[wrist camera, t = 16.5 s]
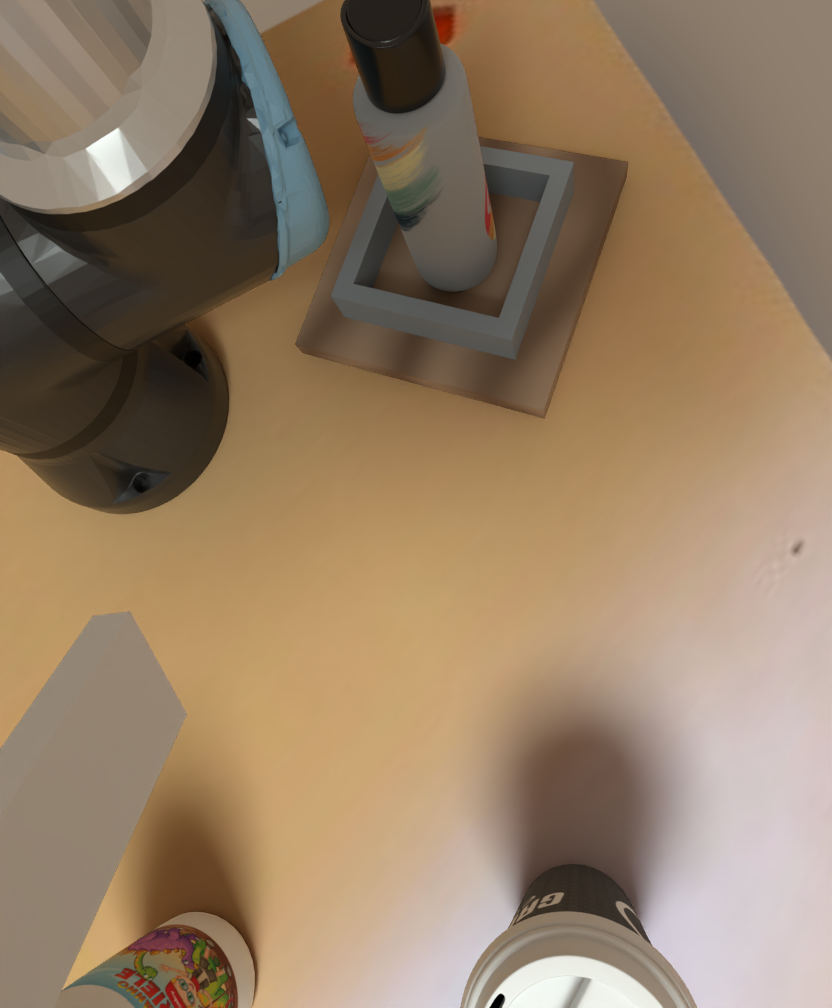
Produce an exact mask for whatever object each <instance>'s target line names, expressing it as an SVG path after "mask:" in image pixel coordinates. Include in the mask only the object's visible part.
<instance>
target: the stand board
mask: <svg viewBox="0 0 832 1008" xmlns="http://www.w3.org/2000/svg"><path fill="white" fill-rule="evenodd" d="M478 139H479V144H480V146H483V147H489V148H495V149H501V150H507V151H513V152H519V153H524V154H530V155H536V156H542V157H548V158H554V159H560V160H566V161H572V162H574V193H573V196H572V199H571V202H570V205H569V208H568V210H567V213H566V216H565V219H564V222H563V225H562V228H561V230H560V233H559V236H558V239H557V242H556V245H555V248H554V251H553V253H552V256H551V259H550V262H549V265H548V268H547V271H546V273H545V276H544V279H543V282H542V285H541V288H540V291H539V294H538V296H537V299H536V302H535V305H534V308H533V311H532V314H531V316H530V319H529V322H528V325H527V328H526V331H525V334H524V337H523V339H522V342H521V345H520V348H519V351H518V354H517V357H516V359H515V360H514V359H510V358H506V357H502V356H498V355H494V354H490V353H486V352H482V351H478V350H474V349H470V348H466V347H462V346H458V345H454V344H450V343H446V342H442V341H438V340H434V339H430V338H426V337H422V336H418V335H414V334H410V333H406V332H402V331H398V330H394V329H390V328H386V327H382V326H378V325H374V324H370V323H366V322H362V321H358V320H354V319H350V318H346V317H344V315H343V314H342V312H341V311H340V309H339V308H338V306H337V305H336V304H335V302H334V301H333V299H332V298H331V294H332V291H333V289H334V286H335V284H336V281H337V278H338V276H339V273H340V271H341V268H342V266H343V263H344V260H345V258H346V255H347V253H348V250H349V248H350V245H351V242H352V240H353V237H354V235H355V232H356V230H357V227H358V225H359V222H360V219H361V217H362V214H363V212H364V209H365V207H366V204H367V201H368V199H369V196H370V194H371V191H372V189H373V186H374V183H375V181H376V178H377V176H378V172H377V169H376V167H375V164H374V162H373V159H372V157H371V154H370V155H369V157H368V160H367V162H366V165H365V167H364V170H363V172H362V175H361V178H360V180H359V183H358V185H357V188H356V190H355V193H354V195H353V198H352V200H351V203H350V206H349V208H348V211H347V213H346V216H345V218H344V221H343V223H342V226H341V228H340V231H339V234H338V236H337V239H336V241H335V244H334V246H333V249H332V251H331V254H330V257H329V259H328V262H327V264H326V267H325V269H324V272H323V274H322V277H321V279H320V282H319V285H318V287H317V290H316V292H315V295H314V297H313V300H312V302H311V305H310V307H309V310H308V313H307V315H306V318H305V320H304V323H303V325H302V328H301V330H300V333H299V335H298V338H297V341H296V343H295V345H296V346H297V347H298V348H299V349H300V350H301V351H302V352H303V353H305V354H309V355H312V356H316V357H320V358H324V359H327V360H331V361H335V362H338V363H342V364H346V365H349V366H353V367H357V368H361V369H364V370H368V371H372V372H375V373H379V374H383V375H386V376H390V377H394V378H398V379H401V380H405V381H409V382H412V383H416V384H420V385H423V386H427V387H431V388H434V389H438V390H442V391H446V392H449V393H453V394H457V395H460V396H464V397H468V398H471V399H475V400H479V401H483V402H486V403H490V404H494V405H497V406H501V407H505V408H508V409H512V410H516V411H520V412H523V413H527V414H531V415H534V416H538V417H542V418H545V415H546V412H547V410H548V407H549V404H550V401H551V398H552V395H553V392H554V389H555V386H556V383H557V380H558V377H559V374H560V371H561V368H562V365H563V362H564V359H565V356H566V354H567V351H568V348H569V345H570V342H571V339H572V336H573V333H574V330H575V327H576V324H577V321H578V318H579V315H580V312H581V309H582V306H583V303H584V301H585V298H586V295H587V292H588V289H589V286H590V283H591V280H592V277H593V274H594V271H595V268H596V265H597V262H598V259H599V256H600V253H601V250H602V247H603V245H604V242H605V239H606V236H607V233H608V230H609V227H610V224H611V221H612V218H613V215H614V212H615V209H616V206H617V203H618V200H619V197H620V194H621V191H622V189H623V186H624V183H625V180H626V177H627V168H628V162H625V161H619V160H613V159H607V158H601V157H595V156H589V155H583V154H577V153H571V152H565V151H559V150H553V149H547V148H541V147H535V146H529V145H523V144H517V143H511V142H505V141H499V140H493V139H487V138H481V137H478ZM488 193H489V192H488ZM489 198H490V204H491V209H492V215H493V220H494V226H495V231H496V238H497V257H496V261H495V264H494V266H493V268H492V270H491V271H490V273H489V274H488V275H487V277H486V278H485V279H484V280H482V281H481V282H480V283H479V284H477V285H475V286H474V287H472V288H469V289H467V290H463V291H458V292H448V291H442V290H439V289H437V288H434V287H433V286H431V285H430V284H428V283H427V282H426V281H425V280H424V279H423V277H422V276H421V274H420V273H419V271H418V269H417V267H416V265H415V262H414V260H413V258H412V255H411V253H410V251H409V248H408V246H407V243H406V241H405V238H404V236H403V233H402V231H401V228H400V226H399V223H397V226H396V228H395V231H394V234H393V236H392V239H391V242H390V244H389V247H388V249H387V252H386V255H385V257H384V260H383V262H382V265H381V268H380V270H379V273H378V276H377V278H376V281H375V283H374V286H373V288H374V289H378V290H382V291H387V292H391V293H395V294H399V295H403V296H408V297H412V298H416V299H420V300H425V301H429V302H433V303H437V304H442V305H446V306H450V307H454V308H459V309H463V310H467V311H471V312H475V313H480V314H484V315H488V316H492V317H497V318H499V317H500V314H501V311H502V308H503V306H504V303H505V300H506V297H507V294H508V291H509V289H510V286H511V283H512V280H513V277H514V275H515V272H516V269H517V266H518V263H519V260H520V258H521V255H522V252H523V249H524V246H525V244H526V241H527V238H528V235H529V232H530V229H531V227H532V224H533V221H534V218H535V215H536V213H537V210H538V207H539V204H540V202H537V201H532V200H526V199H521V198H516V197H510V196H505V195H500V194H494V193H489Z"/></svg>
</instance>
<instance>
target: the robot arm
mask: <svg viewBox="0 0 832 1008" xmlns="http://www.w3.org/2000/svg"><path fill="white" fill-rule="evenodd" d="M328 229H329V213H328V208H327V204H326V200H325V197H324V193H323V190H322V187H321V184H320V181H319V178H318V175H317V172H316V169H315V167H314V164H313V161H312V158H311V156H310V153H309V151H308V148H307V146H306V143H305V140H304V138H303V136H302V134H301V132H300V131H299V130H298V128H297V121H296V119H295V117H294V114H293V112H292V109H291V106H290V103H289V100H288V97H287V95H286V92H285V90H284V87H283V85H282V83H281V80H280V78H279V76H278V73H277V71H276V69H275V66H274V64H273V62H272V60H271V57H270V55H269V53H268V51H267V49H266V46H265V44H264V42H263V40H262V38H261V36H260V34H259V32H258V30H257V28H256V26H255V24H254V22H253V20H252V18H251V16H250V14H249V13H248V11H247V10H246V8H245V6H244V5H243V4H242V3H241V2H240V1H239V0H205V1H204V2H203V1H202V0H0V450H3V451H6V452H9V453H12V454H14V455H17V456H18V457H19V458H20V459H21V460H22V461H23V462H24V463H25V464H26V465H28V466H29V467H30V468H31V469H32V470H33V471H34V472H35V473H36V474H37V475H38V476H39V477H40V478H41V479H42V480H43V481H44V482H45V483H47V484H48V485H49V486H50V487H51V488H52V489H53V490H54V491H56V492H57V493H58V494H60V495H61V496H63V497H65V498H66V499H68V500H70V501H72V502H74V503H77V504H79V505H82V506H85V507H89V508H92V509H95V510H98V511H102V512H106V513H113V514H130V513H137V512H142V511H146V510H150V509H152V508H155V507H158V506H160V505H162V504H164V503H166V502H168V501H170V500H171V499H173V498H174V497H176V496H177V495H179V494H180V493H182V492H183V491H184V490H185V489H186V488H188V487H189V486H190V485H191V484H192V483H193V482H194V481H195V480H196V479H197V478H198V477H199V476H200V474H201V473H202V472H203V471H204V469H205V468H206V467H207V465H208V464H209V462H210V460H211V459H212V457H213V455H214V454H215V452H216V450H217V448H218V445H219V443H220V440H221V438H222V435H223V432H224V428H225V424H226V419H227V412H228V391H227V384H226V379H225V375H224V372H223V369H222V367H221V364H220V362H219V360H218V358H217V357H216V355H215V353H214V352H213V351H212V349H211V348H210V347H209V345H208V344H207V343H206V342H205V341H204V340H203V339H202V338H201V337H199V336H198V335H197V334H196V333H195V332H193V331H192V330H191V329H190V328H189V327H187V326H186V325H185V323H187V322H189V321H191V320H193V319H195V318H197V317H199V316H201V315H203V314H205V313H207V312H209V311H211V310H213V309H215V308H217V307H218V306H220V305H222V304H224V303H226V302H228V301H230V300H232V299H234V298H236V297H238V296H240V295H242V294H244V293H246V292H248V291H249V290H251V289H253V288H255V287H257V286H259V285H261V284H263V283H265V282H267V281H269V280H275V279H277V278H279V277H280V276H281V275H282V274H283V273H284V272H285V270H286V268H288V267H290V266H291V265H293V264H295V263H296V262H298V261H300V260H301V259H303V258H304V257H306V256H308V255H309V254H311V253H313V252H314V251H316V250H317V249H318V248H319V247H320V246H321V245H322V243H323V242H324V241H325V238H326V236H327V233H328ZM186 715H187V713H186V711H185V710H184V708H183V706H182V704H181V702H180V701H179V699H178V697H177V695H176V693H175V691H174V690H173V688H172V686H171V684H170V682H169V681H168V679H167V677H166V675H165V673H164V672H163V670H162V668H161V666H160V664H159V663H158V661H157V659H156V657H155V655H154V654H153V652H152V650H151V648H150V646H149V644H148V643H147V641H146V639H145V637H144V635H143V634H142V632H141V630H140V628H139V626H138V625H137V623H136V621H135V619H134V617H133V616H132V614H131V612H122V613H113V614H104V615H95V616H92V618H91V619H90V621H89V622H88V624H87V625H86V626H85V628H84V629H83V631H82V632H81V634H80V635H79V637H78V638H77V639H76V641H75V642H74V644H73V645H72V647H71V648H70V650H69V651H68V652H67V654H66V655H65V657H64V658H63V660H62V661H61V662H60V664H59V665H58V667H57V668H56V670H55V671H54V673H53V674H52V675H51V677H50V678H49V680H48V681H47V683H46V684H45V685H44V687H43V688H42V690H41V691H40V693H39V694H38V696H37V697H36V698H35V700H34V701H33V703H32V704H31V706H30V707H29V709H28V710H27V711H26V713H25V714H24V716H23V717H22V719H21V720H20V721H19V723H18V724H17V726H16V727H15V729H14V730H13V732H12V733H11V734H10V736H9V737H8V739H7V740H6V742H5V743H4V744H3V746H2V747H1V749H0V1008H54V1006H55V1004H56V1002H57V999H58V997H59V995H60V993H61V991H62V988H63V986H64V984H65V982H66V980H67V977H68V975H69V973H70V971H71V969H72V966H73V964H74V962H75V960H76V957H77V955H78V953H79V951H80V949H81V946H82V944H83V942H84V940H85V938H86V935H87V933H88V931H89V929H90V927H91V924H92V922H93V920H94V918H95V916H96V913H97V911H98V909H99V907H100V905H101V902H102V900H103V898H104V896H105V894H106V891H107V889H108V887H109V885H110V883H111V880H112V878H113V876H114V874H115V872H116V869H117V867H118V865H119V863H120V861H121V858H122V856H123V854H124V852H125V850H126V847H127V845H128V843H129V841H130V839H131V836H132V834H133V832H134V830H135V827H136V825H137V823H138V821H139V819H140V816H141V814H142V812H143V810H144V808H145V805H146V803H147V801H148V799H149V797H150V794H151V792H152V790H153V788H154V786H155V783H156V781H157V779H158V777H159V775H160V772H161V770H162V768H163V766H164V764H165V761H166V759H167V757H168V755H169V753H170V750H171V748H172V746H173V744H174V742H175V739H176V737H177V735H178V733H179V731H180V728H181V726H182V724H183V722H184V720H185V717H186Z"/></svg>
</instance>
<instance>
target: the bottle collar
mask: <svg viewBox="0 0 832 1008" xmlns="http://www.w3.org/2000/svg"><path fill="white" fill-rule="evenodd" d="M480 150H481V155H482V160H483V166H484V171H485V177H486V182H487V187H488V192H489V193H494V194H500V195H505V196H510V197H516V198H521V199H526V200H532V201H537V202H540V204H539V207H538V210H537V213H536V215H535V218H534V221H533V224H532V227H531V229H530V232H529V235H528V238H527V241H526V244H525V246H524V249H523V252H522V255H521V258H520V260H519V263H518V266H517V269H516V272H515V275H514V277H513V280H512V283H511V286H510V289H509V291H508V294H507V297H506V300H505V303H504V306H503V308H502V311H501V314H500V317H499V318H497V317H492V316H488V315H484V314H480V313H475V312H471V311H467V310H463V309H459V308H454V307H450V306H446V305H442V304H437V303H433V302H429V301H425V300H420V299H416V298H412V297H408V296H403V295H399V294H395V293H391V292H387V291H382V290H378V289H374V288H373V286H374V283H375V281H376V278H377V276H378V273H379V270H380V268H381V265H382V262H383V260H384V257H385V255H386V252H387V249H388V247H389V244H390V242H391V239H392V236H393V234H394V231H395V228H396V226H397V223H398V221H397V218H396V216H395V214H394V211H393V209H392V206H391V204H390V201H389V199H388V196H387V194H386V191H385V189H384V186H383V184H382V182H381V179H380V177H379V174H378V176H377V178H376V181H375V183H374V186H373V189H372V191H371V194H370V196H369V199H368V201H367V204H366V207H365V209H364V212H363V214H362V217H361V219H360V222H359V225H358V227H357V230H356V232H355V235H354V237H353V240H352V242H351V245H350V248H349V250H348V253H347V255H346V258H345V260H344V263H343V266H342V268H341V271H340V273H339V276H338V278H337V281H336V284H335V286H334V289H333V291H332V294H331V298H332V299H333V301H334V302H335V304H336V305H337V306H338V308H339V309H340V311H341V312H342V314H343V315H344V317H346V318H350V319H354V320H358V321H362V322H366V323H370V324H374V325H378V326H382V327H386V328H390V329H394V330H398V331H402V332H406V333H410V334H414V335H418V336H422V337H426V338H430V339H434V340H438V341H442V342H446V343H450V344H454V345H458V346H462V347H466V348H470V349H474V350H478V351H482V352H486V353H490V354H494V355H498V356H502V357H506V358H510V359H514V360H515V359H516V357H517V354H518V351H519V348H520V345H521V342H522V339H523V337H524V334H525V331H526V328H527V325H528V322H529V319H530V316H531V314H532V311H533V308H534V305H535V302H536V299H537V296H538V294H539V291H540V288H541V285H542V282H543V279H544V276H545V273H546V271H547V268H548V265H549V262H550V259H551V256H552V253H553V251H554V248H555V245H556V242H557V239H558V236H559V233H560V230H561V228H562V225H563V222H564V219H565V216H566V213H567V210H568V208H569V205H570V202H571V199H572V196H573V193H574V162H572V161H566V160H560V159H554V158H548V157H542V156H536V155H530V154H524V153H519V152H513V151H507V150H501V149H495V148H489V147H483V146H480Z"/></svg>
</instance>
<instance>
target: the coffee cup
mask: <svg viewBox="0 0 832 1008" xmlns="http://www.w3.org/2000/svg"><path fill="white" fill-rule="evenodd" d="M461 1008H697V1006H696V1004H695V1002H694V1000H693V998H692V996H691V994H690V992H689V990H688V988H687V987H686V985H685V983H684V982H683V980H682V979H681V977H680V976H679V975H678V973H677V972H676V971H675V969H674V968H673V967H672V965H671V964H670V963H669V962H668V961H667V960H666V959H665V958H664V956H663V955H662V954H661V953H660V952H659V951H658V950H656V949H655V948H654V947H653V946H652V944H651V942H650V940H649V938H648V937H647V935H646V933H645V931H644V929H643V927H642V925H641V923H640V921H639V919H638V917H637V915H636V913H635V911H634V909H633V907H632V905H631V903H630V901H629V899H628V898H627V896H626V895H625V893H624V892H623V891H622V889H621V888H620V887H619V886H618V885H617V884H616V883H615V882H614V881H613V880H612V879H611V878H609V877H608V876H606V875H605V874H603V873H602V872H600V871H598V870H596V869H593V868H590V867H587V866H583V865H562V866H558V867H555V868H552V869H550V870H548V871H546V872H545V873H543V874H542V875H541V876H539V877H538V878H537V879H536V880H535V881H534V882H533V884H532V885H531V886H530V888H529V889H528V891H527V893H526V895H525V897H524V899H523V901H522V902H521V904H520V906H519V908H518V910H517V912H516V914H515V916H514V918H513V920H512V922H511V924H510V926H509V928H508V929H507V930H506V931H505V932H503V933H502V934H501V935H500V936H498V937H497V938H496V939H495V940H494V941H493V942H492V943H491V944H490V945H489V946H488V948H487V949H486V950H485V951H484V952H483V954H482V955H481V957H480V958H479V960H478V961H477V963H476V965H475V966H474V968H473V970H472V972H471V974H470V977H469V979H468V981H467V984H466V987H465V990H464V994H463V998H462V1002H461Z"/></svg>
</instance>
